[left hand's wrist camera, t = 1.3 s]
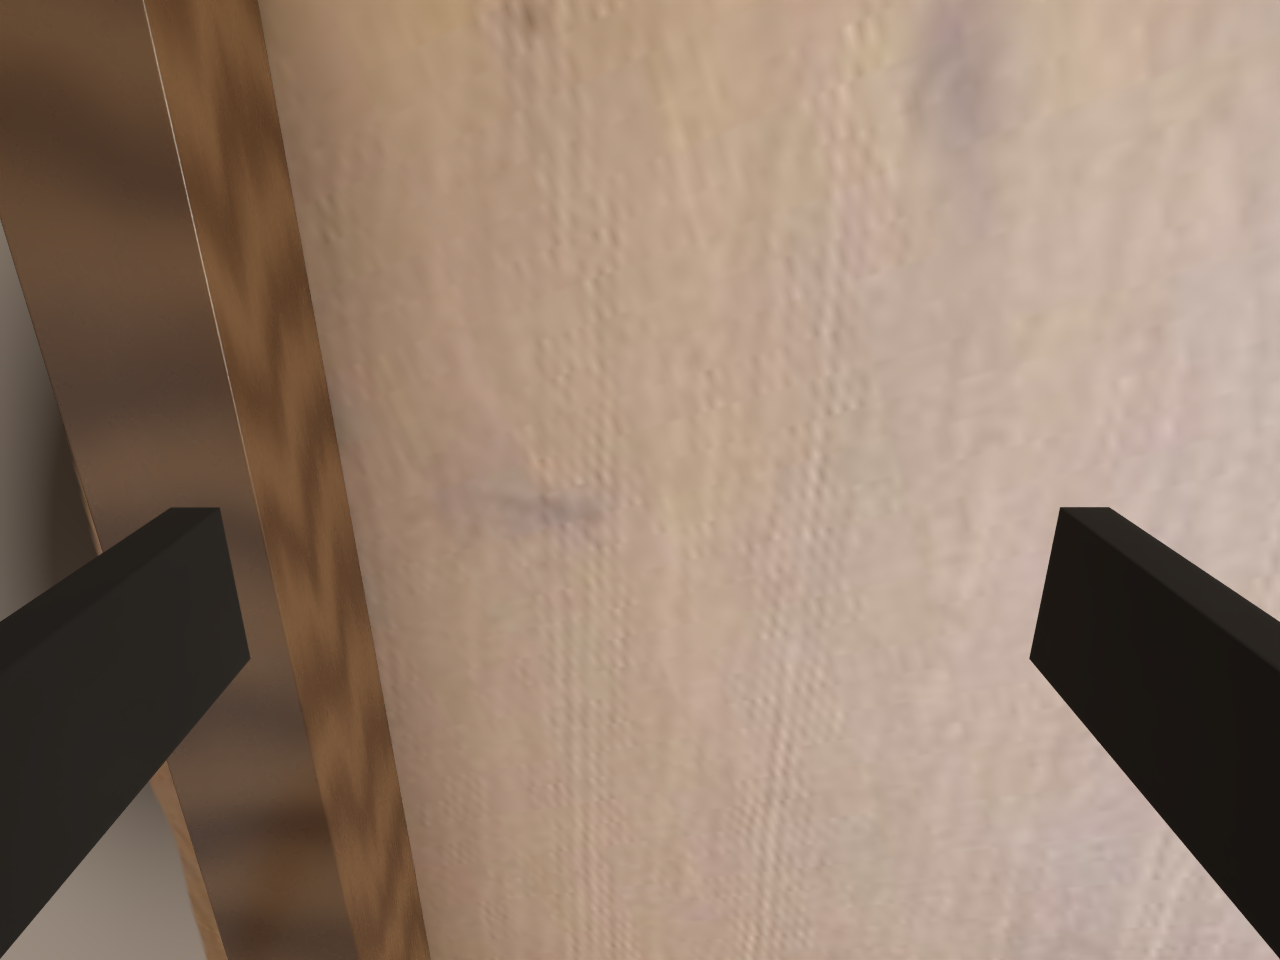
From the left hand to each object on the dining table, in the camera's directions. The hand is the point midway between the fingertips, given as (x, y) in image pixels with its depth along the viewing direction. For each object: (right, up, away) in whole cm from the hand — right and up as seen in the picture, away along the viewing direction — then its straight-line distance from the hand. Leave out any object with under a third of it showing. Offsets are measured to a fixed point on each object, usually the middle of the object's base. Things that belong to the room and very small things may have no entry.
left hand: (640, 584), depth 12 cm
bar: (-16, -4, +24) cm, 29 cm away
